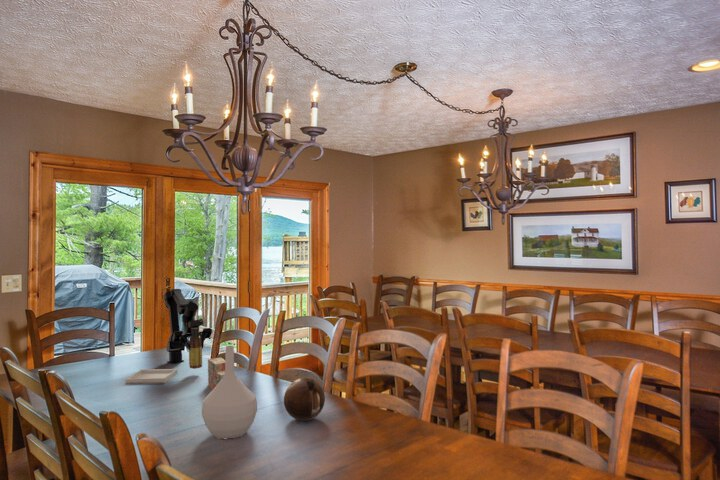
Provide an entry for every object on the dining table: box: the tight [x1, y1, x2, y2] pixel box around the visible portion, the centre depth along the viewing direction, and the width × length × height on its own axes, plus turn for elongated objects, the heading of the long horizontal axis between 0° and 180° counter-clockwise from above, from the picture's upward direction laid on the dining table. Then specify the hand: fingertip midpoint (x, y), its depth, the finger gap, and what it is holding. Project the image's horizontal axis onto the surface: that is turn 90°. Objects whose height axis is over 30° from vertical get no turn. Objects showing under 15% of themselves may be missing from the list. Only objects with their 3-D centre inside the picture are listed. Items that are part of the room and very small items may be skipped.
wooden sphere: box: [283, 377, 326, 422], centre depth 182 cm, size 15×15×15 cm
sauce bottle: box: [188, 327, 203, 369], centre depth 247 cm, size 6×6×20 cm
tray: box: [125, 368, 178, 385], centre depth 240 cm, size 18×18×2 cm
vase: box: [201, 345, 258, 440], centre depth 169 cm, size 18×18×30 cm
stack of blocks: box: [207, 357, 225, 390], centre depth 221 cm, size 21×6×12 cm, turn 31°
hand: (196, 348), depth 246 cm, fingers closed on sauce bottle, 6 cm apart
